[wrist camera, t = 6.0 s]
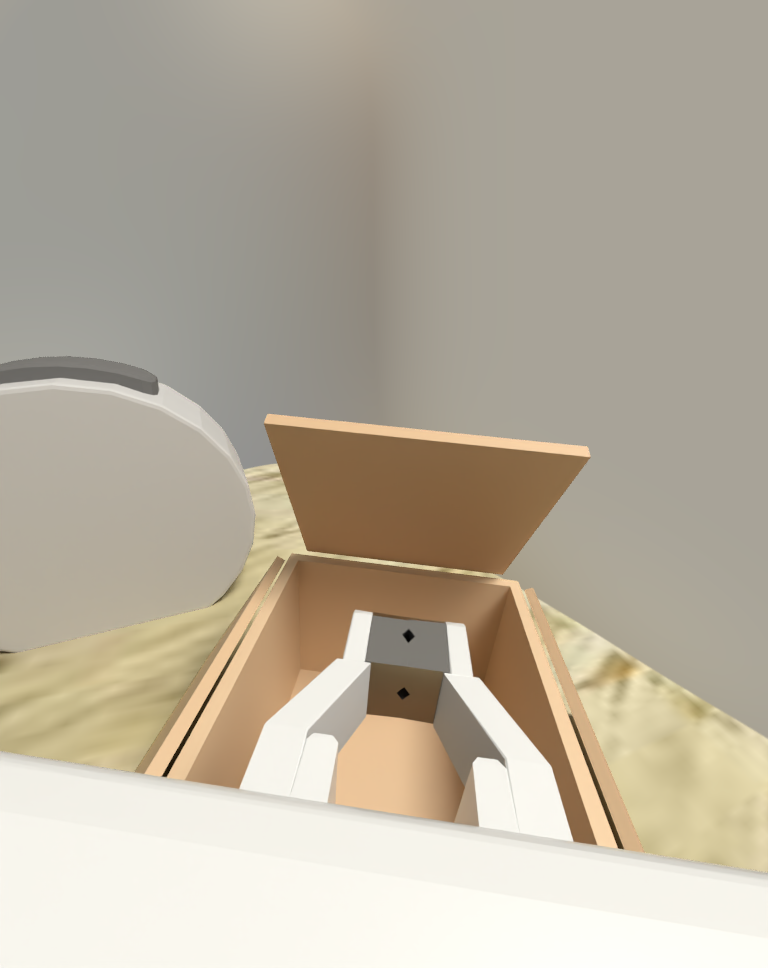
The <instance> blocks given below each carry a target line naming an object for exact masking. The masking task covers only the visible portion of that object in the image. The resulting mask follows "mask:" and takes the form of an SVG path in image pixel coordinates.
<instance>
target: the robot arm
mask: <svg viewBox="0 0 768 968" xmlns="http://www.w3.org/2000/svg"><path fill="white" fill-rule="evenodd" d="M366 714H369V715H378V716H387V717H395V718H402V719H408V720H414V721H420V722H425V723H431V724H433V727H434V729H435V731H436V733H437V734H438V736H439V738H440V740H441V742H442V744H443V746H444V748H445V750H446V752H447V754H448V756H449V758H450V760H451V762H452V763H453V765H454V767H455V769H456V771H457V773H458V775H459V777H460V779H461V781H462V783H463V785H464V787H465V789H464V792H463V796H462V799H461V802H460V805H459V809H458V812H457V815H456V818H455V821H454V823H453V822H447V821H440V820H434V819H428V818H421V817H415V816H409V815H402V814H396V813H389V812H383V811H377V810H370V809H364V808H358V807H351V806H345V805H338V804H335V800H336V781H337V761H338V753H339V752H340V751H341V749H342V748H343V747H344V745H345V744H346V743H347V741H348V740H349V739H350V737H351V736H352V735H353V733H354V732H355V731H356V729H357V728H358V727H359V725H360V724H361V723H362V721H363V720H364V719H365V717H366ZM0 968H768V872H763V871H757V870H751V869H744V868H738V867H732V866H725V865H719V864H713V863H706V862H700V861H694V860H687V859H681V858H675V857H668V856H662V855H656V854H649V853H643V852H636V851H630V850H624V849H617V848H611V847H605V846H598V845H592V844H586V843H579V842H573V838H572V835H571V831H570V828H569V825H568V821H567V818H566V814H565V811H564V808H563V804H562V801H561V797H560V794H559V791H558V787H557V784H556V780H555V777H554V774H553V770H552V767H551V765H550V764H549V763H548V762H547V760H546V759H545V758H544V757H543V756H542V754H541V753H540V752H539V751H538V749H537V748H536V747H535V746H534V745H533V743H532V742H531V741H530V740H529V738H528V737H527V736H526V735H525V733H524V732H523V731H522V730H521V729H520V727H519V726H518V725H517V724H516V722H515V721H514V720H513V719H512V718H511V716H510V715H509V714H508V713H507V711H506V710H505V709H504V708H503V706H502V705H501V704H500V703H499V702H498V700H497V699H496V698H495V697H494V695H493V694H492V693H491V692H490V691H489V689H488V688H487V687H486V686H485V684H484V683H483V682H482V681H481V679H480V678H477V677H473V672H472V665H471V659H470V652H469V646H468V639H467V632H466V627H465V625H464V624H462V623H453V622H444V621H435V620H427V619H419V618H411V617H402V616H396V615H390V614H383V613H377V612H367V611H361V610H355V611H354V613H353V616H352V620H351V625H350V629H349V633H348V638H347V642H346V646H345V650H344V655H343V659H339V658H337V659H336V660H334V661H333V662H332V663H331V664H330V665H329V666H328V667H327V668H326V669H325V670H323V671H322V672H321V673H320V674H319V675H318V676H317V677H316V678H315V679H313V680H312V681H311V682H310V683H309V684H308V685H307V686H306V687H305V688H303V689H302V690H301V691H300V692H299V693H298V694H297V695H296V696H295V697H293V698H292V699H291V700H290V701H289V702H288V703H287V704H286V705H285V706H284V707H282V708H281V709H280V710H279V711H278V712H277V713H276V714H275V715H274V716H272V717H271V718H270V719H269V720H268V721H267V722H266V723H265V724H264V727H263V729H262V732H261V735H260V737H259V740H258V742H257V745H256V747H255V750H254V752H253V755H252V757H251V760H250V762H249V765H248V768H247V770H246V773H245V775H244V778H243V780H242V783H241V785H240V788H239V789H237V788H230V787H224V786H218V785H211V784H205V783H199V782H192V781H186V780H180V779H173V778H167V777H161V776H154V775H148V774H142V773H135V772H129V771H123V770H116V769H110V768H104V767H97V766H91V765H85V764H79V763H72V762H66V761H60V760H53V759H47V758H41V757H35V756H28V755H22V754H16V753H9V752H3V751H0Z"/></svg>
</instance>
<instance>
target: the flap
mask: <svg viewBox="0 0 768 968" xmlns="http://www.w3.org/2000/svg"><path fill="white" fill-rule="evenodd" d="M264 425H265V428H266V431H267V434H268V437H269V440H270V443H271V446H272V449H273V452H274V455H275V457H276V460H277V463H278V466H279V469H280V472H281V475H282V478H283V481H284V484H285V487H286V490H287V493H288V496H289V499H290V502H291V504H292V507H293V510H294V513H295V516H296V519H297V522H298V525H299V528H300V531H301V534H302V537H303V540H304V543H305V546H306V549H307V551H313V552H321V553H329V554H338V555H346V556H354V557H362V558H370V559H379V560H387V561H395V562H403V563H411V564H420V565H428V566H436V567H444V568H452V569H461V570H469V571H477V572H485V573H493V574H502V575H503V573H504V572H505V571H506V569H507V568H508V567H509V565H510V564H511V563H512V561H513V560H514V559H515V557H516V556H517V555H518V553H519V552H520V551H521V549H522V548H523V546H524V545H525V544H526V543H527V541H528V540H529V538H530V537H531V536H532V535H533V533H534V532H535V531H536V529H537V528H538V527H539V525H540V524H541V522H542V521H543V520H544V519H545V517H546V516H547V515H548V513H549V512H550V510H551V509H552V508H553V507H554V505H555V504H556V503H557V501H558V500H559V499H560V497H561V496H562V495H563V493H564V492H565V491H566V489H567V488H568V487H569V485H570V484H571V483H572V481H573V480H574V479H575V477H576V476H577V475H578V473H579V472H580V471H581V469H582V468H583V467H584V465H585V464H586V463H587V461H588V460H589V459H590V453H589V450H588V447H585V446H576V445H565V444H556V443H546V442H536V441H527V440H517V439H507V438H498V437H487V436H478V435H468V434H459V433H449V432H439V431H429V430H420V429H410V428H400V427H390V426H380V425H371V424H361V423H351V422H341V421H332V420H322V419H312V418H303V417H292V416H283V415H273V414H268V415H267V417H266V419H265V422H264Z"/></svg>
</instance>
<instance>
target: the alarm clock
mask: <svg viewBox="0 0 768 968" xmlns="http://www.w3.org/2000/svg"><path fill="white" fill-rule="evenodd" d="M254 526H255V510H254V506H253V502H252V498H251V494H250V489H249V485H248V482H247V479H246V477H245V474H244V471H243V468H242V465H241V463H240V459H239V457H238V454H237V452H236V451H235V449H234V447H233V445H232V444H231V442H230V440H229V439H228V437H227V435H226V434H225V432H224V430H223V429H222V428H221V427H220V426H219V425H218V424H217V423H216V422H215V421H214V420H213V419H212V418H211V417H210V416H209V415H208V414H207V413H206V412H205V411H204V410H203V409H202V408H201V407H200V406H199V405H198V404H196V403H194V402H193V401H191V400H190V399H188V398H186V397H185V396H183V395H181V394H180V393H178V392H176V391H175V390H173V389H172V388H170V387H168V386H167V385H164V384H161V383H158V380H157V377H156V376H155V375H153V374H152V373H150V372H148V371H146V370H144V369H141V368H137V367H134V366H130V365H127V364H123V363H118V362H112V361H106V360H102V359H94V358H83V357H82V358H81V357H71V356H67V357H39V358H32V359H25V360H18V361H11V362H8V363H4V364H0V651H5V652H12V653H17V652H23V651H27V650H31V649H35V648H39V647H44V646H48V645H52V644H56V643H60V642H65V641H69V640H73V639H77V638H81V637H86V636H90V635H94V634H98V633H102V632H107V631H111V630H115V629H119V628H123V627H127V626H132V625H136V624H140V623H144V622H148V621H153V620H157V619H161V618H165V617H169V616H174V615H178V614H182V613H186V612H190V611H195V610H199V609H203V608H207V607H210V606H211V605H213V604H214V603H215V602H216V601H217V600H219V599H220V598H221V597H222V596H223V595H224V594H225V593H226V591H227V590H228V589H229V587H230V586H231V585H232V583H233V582H234V581H235V579H236V578H237V577H238V575H239V574H240V573H241V571H242V570H243V567H244V565H245V562H246V560H247V557H248V555H249V552H250V550H251V547H252V545H253V539H254Z"/></svg>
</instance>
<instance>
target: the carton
mask: <svg viewBox="0 0 768 968" xmlns="http://www.w3.org/2000/svg"><path fill="white" fill-rule="evenodd" d="M284 561H285V560H283V559H282V558H280V557H278V556H277V558H276V559H275V561H274V562H273V564H272V565H271V566H270V568H269V569H268V571H267V572H266V574H265V575H264V577H263V578H262V579H261V581H260V582H259V584H258V585H257V587H256V588H255V590H254V591H253V592H252V594H251V595H250V597H249V598H248V600H247V601H246V603H245V604H244V606H243V607H242V608H241V610H240V611H239V613H238V614H237V616H236V617H235V619H234V620H233V621H232V623H231V624H230V626H229V627H228V629H227V630H226V632H225V633H224V634H223V636H222V637H221V639H220V640H219V642H218V643H217V645H216V646H215V647H214V649H213V650H212V652H211V653H210V655H209V656H208V658H207V659H206V661H205V662H204V664H203V665H202V667H201V668H200V670H199V672H198V673H197V675H196V676H195V678H194V679H193V681H192V683H191V684H190V686H189V687H188V689H187V690H186V692H185V694H184V695H183V697H182V698H181V700H180V701H179V703H178V705H177V706H176V708H175V709H174V711H173V712H172V714H171V716H170V717H169V719H168V720H167V722H166V723H165V725H164V727H163V728H162V730H161V731H160V733H159V734H158V736H157V738H156V739H155V741H154V742H153V744H152V745H151V747H150V749H149V750H148V752H147V753H146V755H145V756H144V758H143V760H142V761H141V763H140V764H139V766H138V767H137V769H136V771H135V773H142V774H148V775H154V776H162V775H163V773H164V771H165V769H166V768H167V766H168V764H169V762H170V761H171V759H172V757H173V755H174V754H175V752H176V750H177V748H178V747H179V745H180V743H181V741H182V740H183V738H184V736H185V734H186V733H187V731H188V729H189V727H190V726H191V724H192V722H193V720H194V719H195V717H196V715H197V713H198V712H199V710H200V708H201V706H202V705H203V703H204V701H205V699H206V698H207V696H208V694H209V692H210V691H211V689H212V687H213V685H214V684H215V682H216V680H217V678H218V677H219V675H220V673H221V671H222V670H223V668H224V666H225V664H226V663H227V661H228V659H229V657H230V656H231V654H232V652H233V650H234V649H235V647H236V645H237V643H238V642H239V640H240V638H241V636H242V635H243V633H244V631H245V629H246V628H247V626H248V624H249V622H250V621H251V619H252V617H253V615H254V614H255V612H256V610H257V608H258V607H259V605H260V603H261V601H262V600H263V598H264V596H265V594H266V593H267V591H268V589H269V587H270V586H271V584H272V582H273V580H274V579H275V577H276V575H277V573H278V572H279V570H280V568H281V566H282V565H283V563H284ZM525 593H526V596H527V598H528V601H529V603H530V606H531V609H532V611H533V614H534V616H535V619H536V622H537V624H538V627H539V629H540V632H541V635H542V637H543V640H544V642H545V645H546V648H547V650H548V653H549V655H550V658H551V661H552V663H553V666H554V668H555V671H556V673H557V676H558V679H559V681H560V684H561V686H562V689H563V692H564V694H565V697H566V699H567V702H568V705H569V707H570V710H571V712H572V715H573V718H574V720H575V723H576V725H577V728H578V731H579V733H580V736H581V738H582V741H583V743H584V746H585V749H586V751H587V754H588V756H589V759H590V762H591V764H592V767H593V769H594V772H595V775H596V777H597V780H598V782H599V785H600V788H601V790H602V793H603V795H604V798H605V801H606V803H607V806H608V808H609V811H610V813H611V816H612V819H613V821H614V824H615V826H616V829H617V832H618V834H619V837H620V839H621V842H622V845H623V847H624V850H630V851H636V852H643V853H645V852H644V850H643V847H642V845H641V842H640V840H639V838H638V835H637V833H636V831H635V828H634V826H633V823H632V821H631V819H630V816H629V814H628V812H627V809H626V807H625V805H624V802H623V800H622V797H621V795H620V793H619V790H618V788H617V786H616V783H615V781H614V778H613V776H612V774H611V771H610V769H609V767H608V764H607V762H606V759H605V757H604V755H603V752H602V750H601V748H600V745H599V743H598V741H597V738H596V736H595V733H594V731H593V729H592V726H591V724H590V722H589V719H588V717H587V714H586V712H585V710H584V707H583V705H582V703H581V700H580V698H579V695H578V693H577V691H576V688H575V686H574V684H573V681H572V679H571V677H570V674H569V672H568V669H567V667H566V665H565V662H564V660H563V658H562V655H561V653H560V650H559V648H558V646H557V643H556V641H555V639H554V636H553V634H552V631H551V629H550V627H549V624H548V622H547V620H546V617H545V615H544V613H543V610H542V608H541V605H540V603H539V601H538V598H537V596H536V594H535V591H534V589H533V588H530V589H527V590H525ZM355 610H361V611H367V612H377V613H383V614H390V615H396V616H402V617H411V618H419V619H427V620H435V621H444V622H453V623H462V624H464V625H465V627H466V632H467V639H468V646H469V652H470V659H471V665H472V672H473V677H477V678H480V679H481V681H482V682H483V683H484V684H485V686H486V687H487V688H488V689H489V691H490V692H491V693H492V694H493V695H494V697H495V698H496V699H497V700H498V702H499V703H500V704H501V705H502V706H503V708H504V709H505V710H506V711H507V713H508V714H509V715H510V716H511V718H512V719H513V720H514V721H515V722H516V724H517V725H518V726H519V727H520V729H521V730H522V731H523V732H524V733H525V735H526V736H527V737H528V738H529V740H530V741H531V742H532V743H533V745H534V746H535V747H536V748H537V749H538V751H539V752H540V753H541V754H542V756H543V757H544V758H545V759H546V760H547V762H548V763H549V764H550V765H551V767H552V770H553V774H554V777H555V780H556V784H557V787H558V791H559V794H560V797H561V801H562V804H563V808H564V811H565V814H566V818H567V821H568V825H569V828H570V831H571V835H572V838H573V842H579V843H586V844H592V845H598V846H605V847H611V848H617V849H618V847H617V844H616V841H615V839H614V836H613V833H612V831H611V828H610V825H609V823H608V820H607V817H606V815H605V812H604V809H603V807H602V804H601V801H600V799H599V796H598V793H597V791H596V788H595V785H594V783H593V780H592V777H591V775H590V772H589V769H588V767H587V764H586V761H585V759H584V756H583V753H582V751H581V748H580V745H579V743H578V740H577V737H576V735H575V732H574V729H573V727H572V724H571V721H570V719H569V716H568V713H567V711H566V708H565V705H564V703H563V700H562V697H561V695H560V692H559V689H558V687H557V684H556V681H555V679H554V676H553V673H552V671H551V668H550V665H549V663H548V660H547V657H546V655H545V652H544V649H543V647H542V644H541V641H540V639H539V636H538V633H537V631H536V628H535V625H534V623H533V620H532V617H531V615H530V612H529V609H528V607H527V604H526V601H525V598H524V596H523V593H522V590H521V588H520V585H519V583H518V581H512V580H504V579H496V578H488V577H480V576H472V575H464V574H455V573H447V572H439V571H431V570H423V569H415V568H406V567H398V566H390V565H382V564H374V563H366V562H357V561H349V560H341V559H333V558H325V557H317V556H309V555H300V554H291V556H290V557H289V559H288V561H287V563H286V565H285V566H284V568H283V570H282V572H281V573H280V575H279V577H278V579H277V581H276V582H275V584H274V586H273V588H272V590H271V591H270V593H269V595H268V597H267V598H266V600H265V602H264V604H263V606H262V607H261V609H260V611H259V613H258V615H257V616H256V618H255V620H254V622H253V624H252V625H251V627H250V629H249V631H248V632H247V634H246V636H245V638H244V640H243V641H242V643H241V645H240V647H239V649H238V650H237V652H236V654H235V656H234V657H233V659H232V661H231V663H230V665H229V666H228V668H227V670H226V672H225V674H224V675H223V677H222V679H221V681H220V683H219V684H218V686H217V688H216V690H215V691H214V693H213V695H212V697H211V699H210V700H209V702H208V704H207V706H206V708H205V709H204V711H203V713H202V715H201V716H200V718H199V720H198V722H197V724H196V725H195V727H194V729H193V731H192V733H191V734H190V736H189V738H188V740H187V742H186V743H185V745H184V747H183V749H182V750H181V752H180V754H179V756H178V758H177V759H176V761H175V763H174V765H173V767H172V768H171V770H170V772H169V774H168V776H167V778H173V779H180V780H186V781H192V782H199V783H205V784H211V785H218V786H224V787H230V788H237V789H239V788H240V785H241V783H242V780H243V778H244V775H245V773H246V770H247V768H248V765H249V762H250V760H251V757H252V755H253V752H254V750H255V747H256V745H257V742H258V740H259V737H260V735H261V732H262V729H263V727H264V724H265V723H266V722H267V721H268V720H269V719H270V718H271V717H272V716H274V715H275V714H276V713H277V712H278V711H279V710H280V709H281V708H282V707H284V706H285V705H286V704H287V703H288V702H289V701H290V700H291V699H292V698H293V697H295V696H296V695H297V694H298V693H299V692H300V691H301V690H302V689H303V688H305V687H306V686H307V685H308V684H309V683H310V682H311V681H312V680H313V679H315V678H316V677H317V676H318V675H319V674H320V673H321V672H322V671H323V670H325V669H326V668H327V667H328V666H329V665H330V664H331V663H332V662H333V661H334V660H336V659H337V658H339V659H343V655H344V650H345V646H346V642H347V638H348V633H349V629H350V625H351V620H352V616H353V613H354V611H355ZM464 789H465V787H464V785H463V783H462V781H461V779H460V777H459V775H458V773H457V771H456V769H455V767H454V765H453V763H452V762H451V760H450V758H449V756H448V754H447V752H446V750H445V748H444V746H443V744H442V742H441V740H440V738H439V736H438V734H437V733H436V731H435V729H434V727H433V724H431V723H425V722H420V721H414V720H408V719H402V718H395V717H387V716H378V715H369V714H366V717H365V719H364V720H363V721H362V723H361V724H360V725H359V727H358V728H357V729H356V731H355V732H354V733H353V735H352V736H351V737H350V739H349V740H348V741H347V743H346V744H345V745H344V747H343V748H342V749H341V751H340V752H339V753H338V761H337V781H336V800H335V804H338V805H345V806H351V807H358V808H364V809H370V810H377V811H383V812H389V813H396V814H402V815H409V816H415V817H421V818H428V819H434V820H440V821H447V822H453V823H454V821H455V818H456V815H457V812H458V809H459V805H460V802H461V799H462V796H463V792H464Z"/></svg>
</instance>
